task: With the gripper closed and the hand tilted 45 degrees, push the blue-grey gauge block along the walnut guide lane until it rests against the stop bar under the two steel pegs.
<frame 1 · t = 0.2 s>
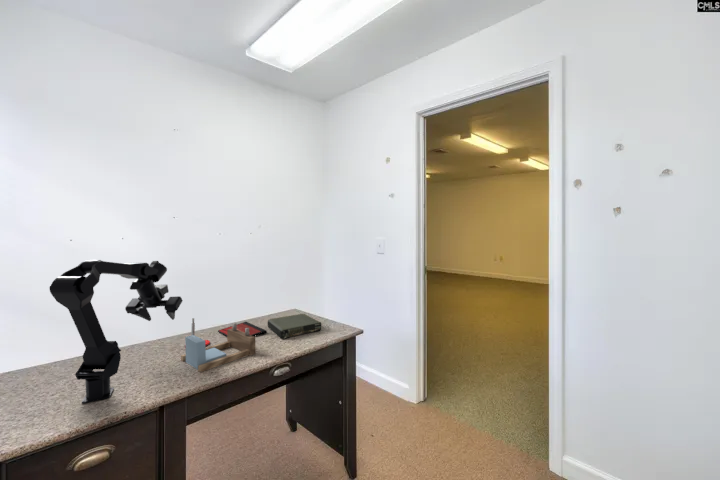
hand: (162, 319, 124), 15 cm above the table, tool tilted 30°, fingers open, 9 cm apart
dark green electronics case: (293, 330, 156), on the table
binder: (241, 334, 151), on the table
tow hook: (198, 345, 135), on the table
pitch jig: (225, 354, 125), on the table
gauge block: (206, 361, 119), on the table
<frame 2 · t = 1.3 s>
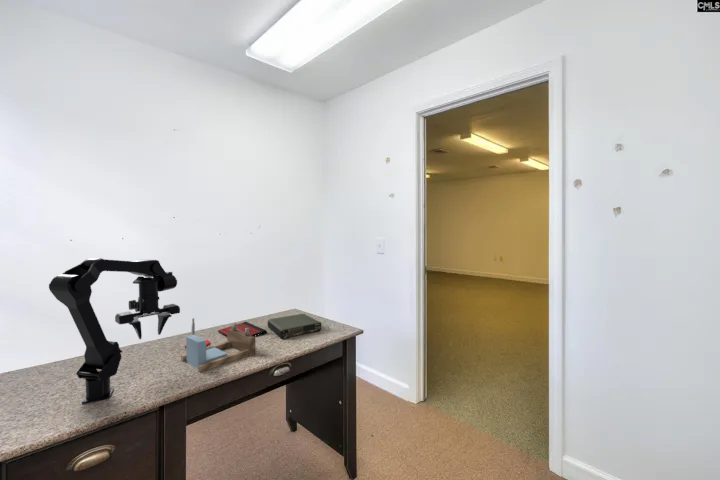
hand: (149, 336, 111), 12 cm above the table, tool pointing down, fingers open, 6 cm apart
nothing on the table moved.
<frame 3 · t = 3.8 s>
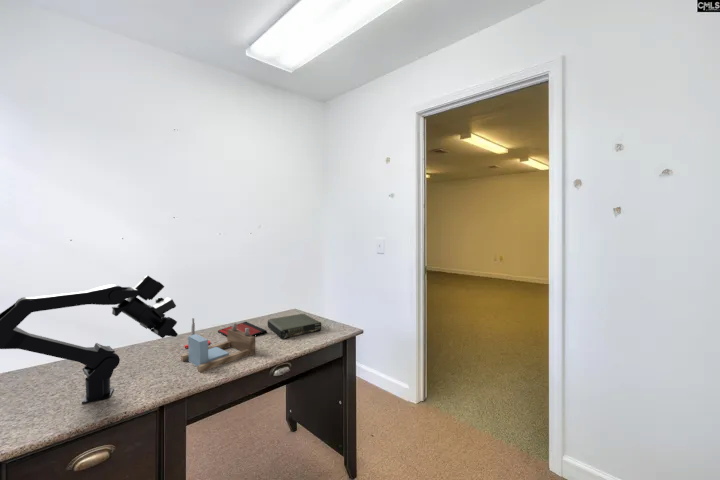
hand: (176, 335, 110), 13 cm above the table, tool tilted 45°, fingers closed
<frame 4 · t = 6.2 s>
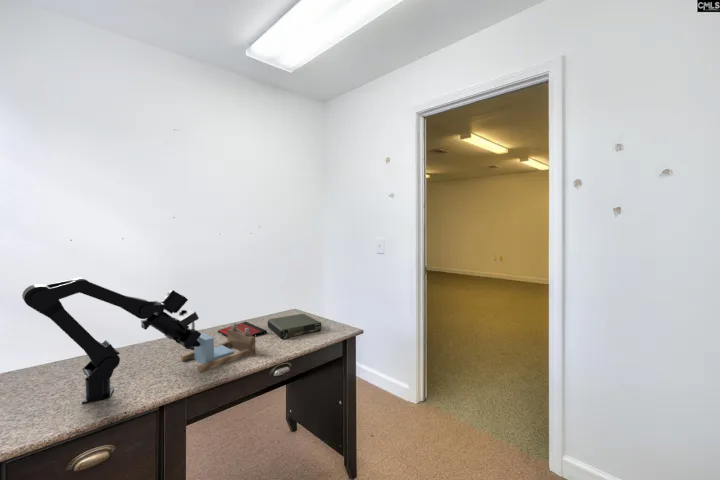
hand: (199, 345, 117), 7 cm above the table, tool tilted 45°, fingers closed, pressing on gauge block
gauge block: (214, 358, 121), on the table, touching gripper
everything else where it was.
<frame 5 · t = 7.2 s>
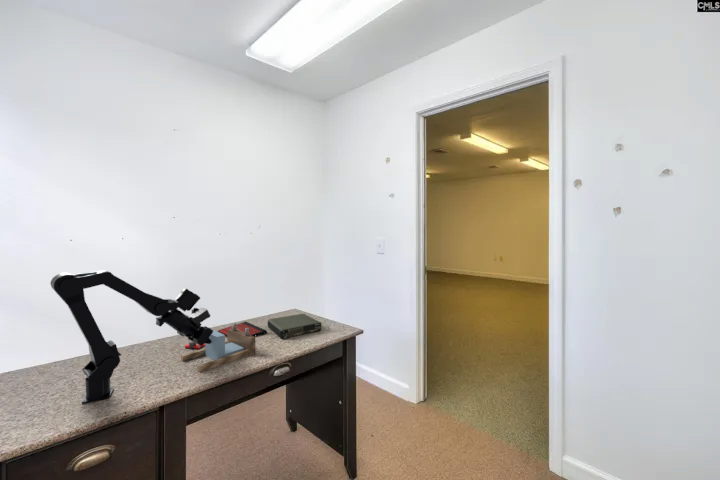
hand: (210, 342, 120), 7 cm above the table, tool tilted 45°, fingers closed
gauge block: (225, 354, 125), on the table
everything else where it was.
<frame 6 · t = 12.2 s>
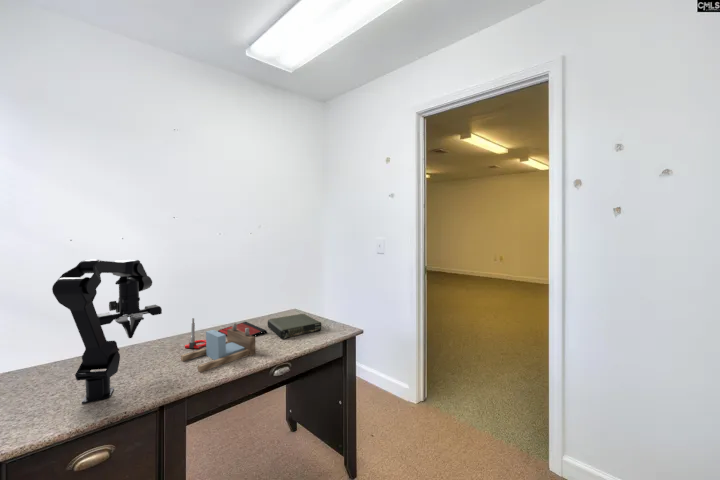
hand: (130, 338, 110), 12 cm above the table, tool pointing down, fingers closed
nothing on the table moved.
at the end: gauge block 0.1 cm from the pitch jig (horizontally); gauge block moved 8.0 cm from its start; gauge block tilted 0° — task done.
